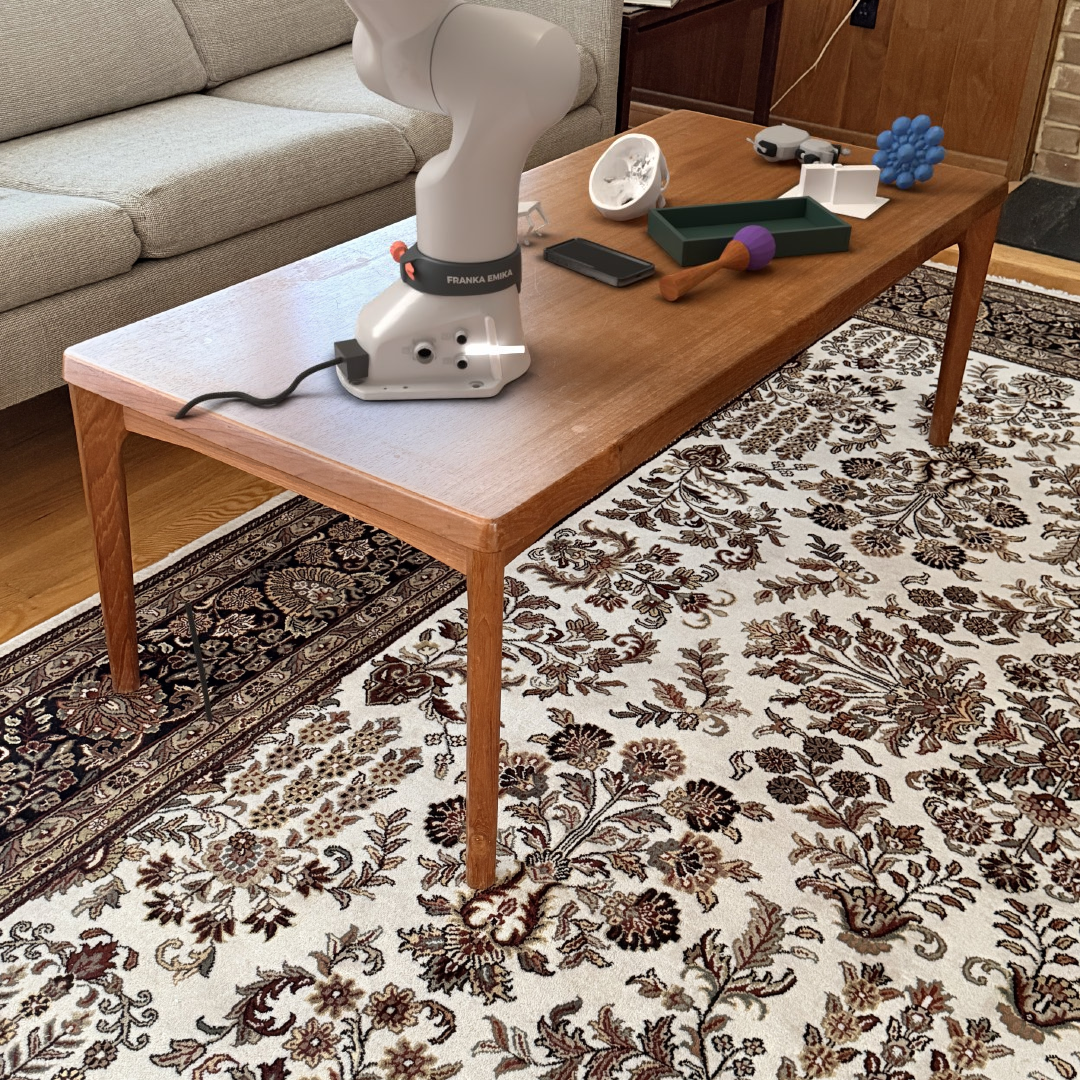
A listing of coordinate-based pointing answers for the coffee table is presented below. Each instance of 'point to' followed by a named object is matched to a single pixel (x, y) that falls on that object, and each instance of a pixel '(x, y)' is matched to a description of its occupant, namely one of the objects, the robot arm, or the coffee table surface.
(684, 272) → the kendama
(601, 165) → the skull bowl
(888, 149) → the blue beaded flower
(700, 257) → the tray
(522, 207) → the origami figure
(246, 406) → the coffee table surface
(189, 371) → the coffee table surface
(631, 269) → the phone
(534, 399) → the coffee table surface
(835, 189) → the napkin holder
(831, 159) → the robot toy
